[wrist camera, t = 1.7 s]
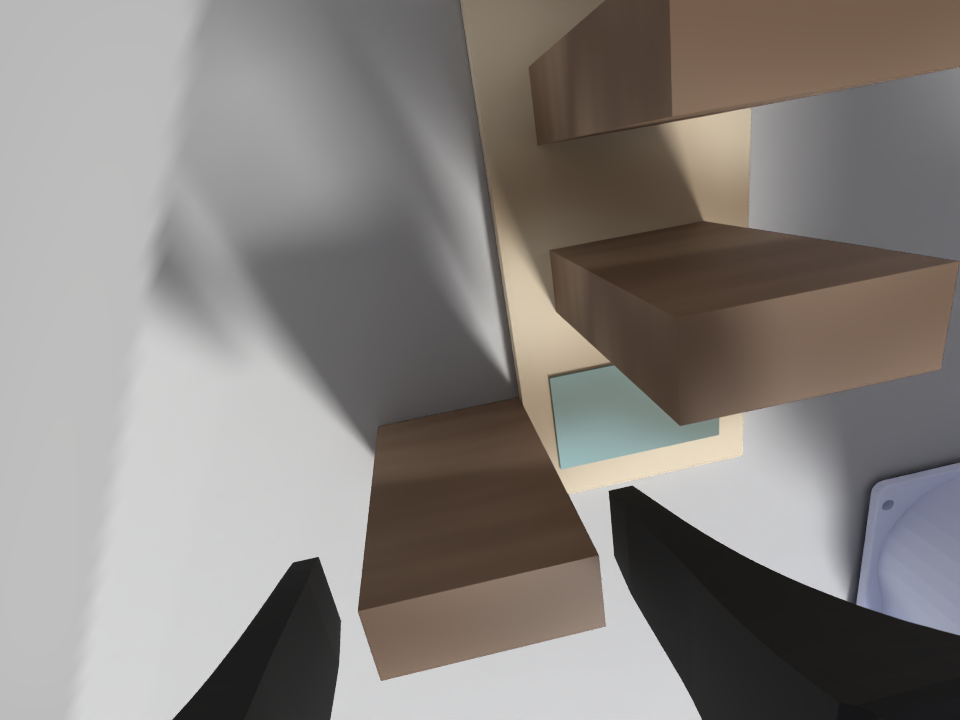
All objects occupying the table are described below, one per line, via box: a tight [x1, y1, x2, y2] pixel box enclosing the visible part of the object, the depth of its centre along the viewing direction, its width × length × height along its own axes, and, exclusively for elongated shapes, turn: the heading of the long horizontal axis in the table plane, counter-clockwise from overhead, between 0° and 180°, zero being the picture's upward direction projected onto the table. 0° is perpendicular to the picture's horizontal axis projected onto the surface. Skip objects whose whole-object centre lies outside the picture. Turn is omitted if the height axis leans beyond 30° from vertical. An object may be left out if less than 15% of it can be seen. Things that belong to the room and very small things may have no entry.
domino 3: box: [549, 221, 960, 426], centre depth 13 cm, size 2×5×8 cm, turn 99°
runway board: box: [460, 0, 751, 495], centre depth 16 cm, size 20×8×1 cm, turn 9°
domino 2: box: [529, 0, 960, 146], centre depth 11 cm, size 2×5×8 cm, turn 99°
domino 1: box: [358, 397, 606, 681], centre depth 14 cm, size 2×5×8 cm, turn 99°
